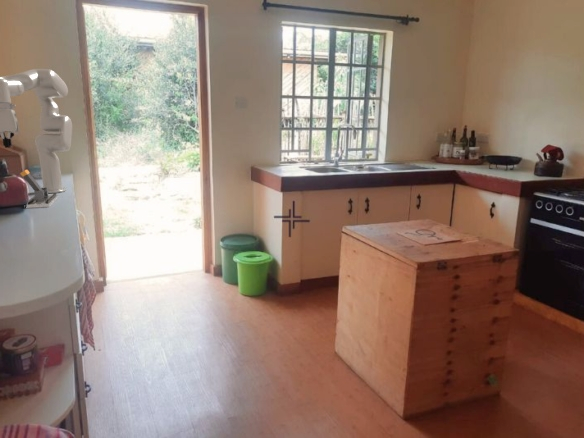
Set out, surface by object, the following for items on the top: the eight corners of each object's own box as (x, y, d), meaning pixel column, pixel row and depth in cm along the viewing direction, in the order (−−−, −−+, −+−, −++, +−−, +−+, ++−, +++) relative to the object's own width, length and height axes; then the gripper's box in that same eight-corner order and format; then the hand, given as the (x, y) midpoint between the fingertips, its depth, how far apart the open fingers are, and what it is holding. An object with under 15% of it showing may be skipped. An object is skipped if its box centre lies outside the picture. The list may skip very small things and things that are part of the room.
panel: (36, 199, 230) (34, 185, 228) (58, 197, 233) (56, 184, 231) (25, 208, 208) (23, 193, 206) (49, 206, 211) (47, 192, 209)
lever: (41, 194, 222) (22, 171, 218) (45, 192, 223) (27, 169, 218) (38, 197, 216) (19, 173, 212) (43, 194, 217) (24, 170, 212)
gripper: (22, 107, 212) (27, 146, 216) (-15, 107, 208) (-8, 147, 212) (18, 106, 205) (24, 147, 209) (-20, 106, 201) (-13, 148, 205)
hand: (8, 147), depth 211 cm, fingers closed
